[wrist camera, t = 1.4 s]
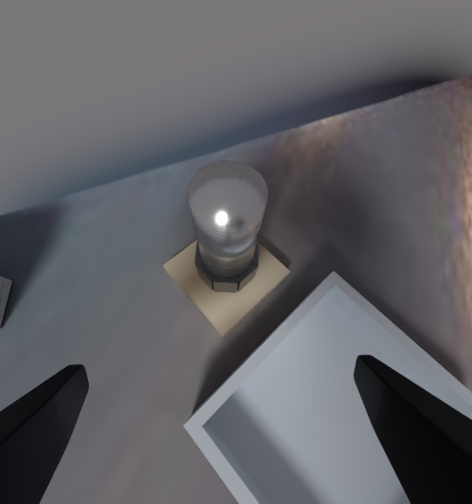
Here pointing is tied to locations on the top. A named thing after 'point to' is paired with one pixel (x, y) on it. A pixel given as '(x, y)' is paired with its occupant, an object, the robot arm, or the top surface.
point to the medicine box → (4, 295)
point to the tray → (313, 406)
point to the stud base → (225, 303)
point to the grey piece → (227, 223)
